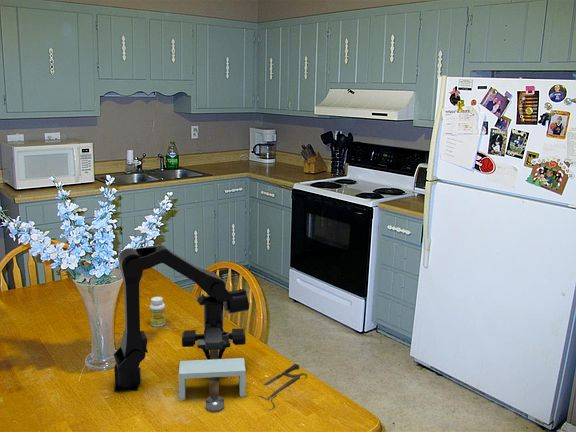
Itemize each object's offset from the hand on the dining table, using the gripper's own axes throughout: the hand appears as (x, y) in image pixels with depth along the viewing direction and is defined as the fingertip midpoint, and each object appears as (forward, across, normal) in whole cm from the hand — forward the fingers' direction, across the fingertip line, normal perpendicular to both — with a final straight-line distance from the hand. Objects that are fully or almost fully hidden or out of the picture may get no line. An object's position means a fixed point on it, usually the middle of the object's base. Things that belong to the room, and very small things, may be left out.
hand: (214, 363), depth 166 cm
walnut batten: (+2, 0, -6) cm, 6 cm away
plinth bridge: (+2, 0, -13) cm, 13 cm away
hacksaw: (+2, +20, -12) cm, 23 cm away
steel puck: (+2, 0, -20) cm, 21 cm away
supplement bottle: (+2, -20, +32) cm, 38 cm away
